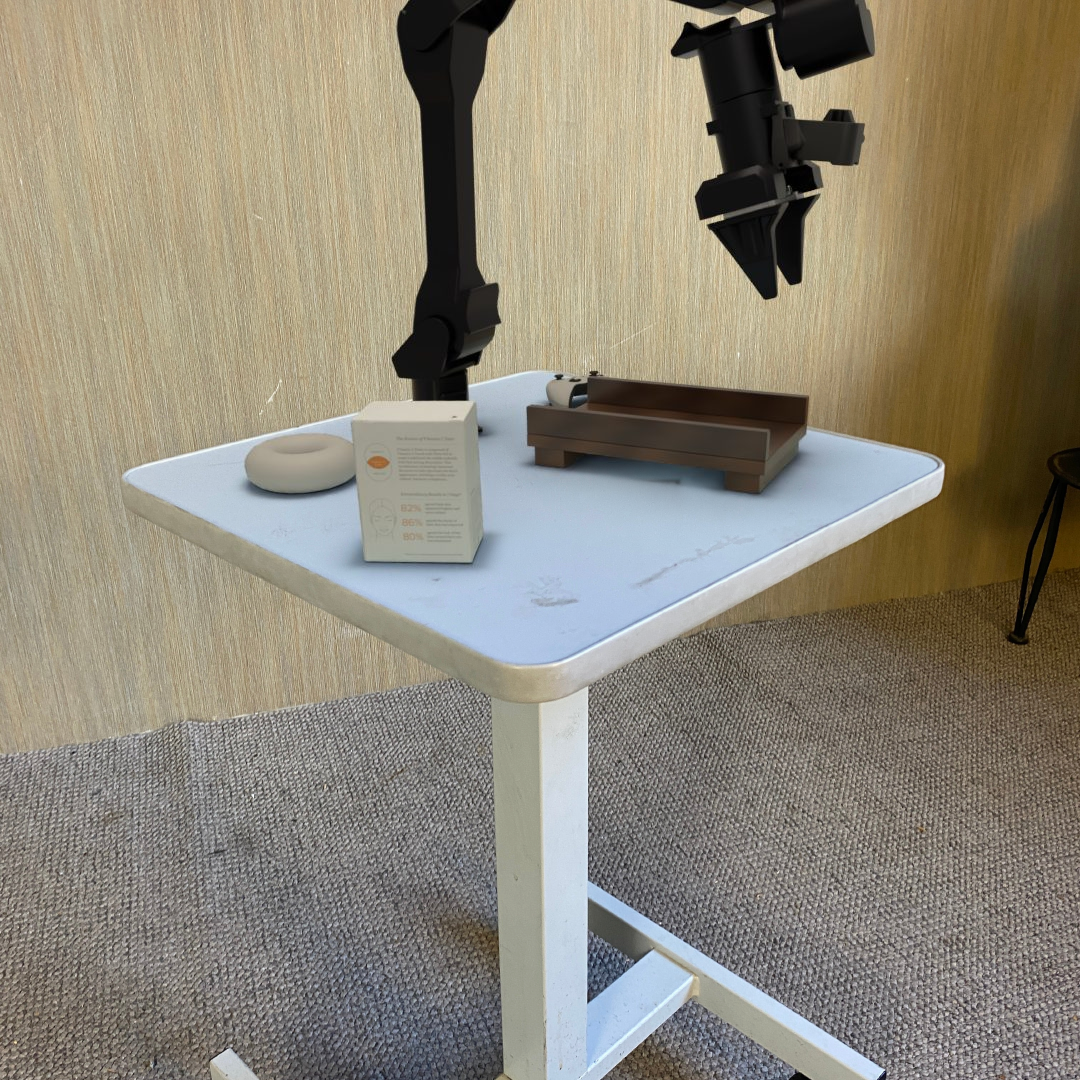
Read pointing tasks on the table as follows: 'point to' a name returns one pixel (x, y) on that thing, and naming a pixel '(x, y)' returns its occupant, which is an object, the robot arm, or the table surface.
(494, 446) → the table surface
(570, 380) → the game controller
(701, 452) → the tray
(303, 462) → the donut
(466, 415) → the small box
